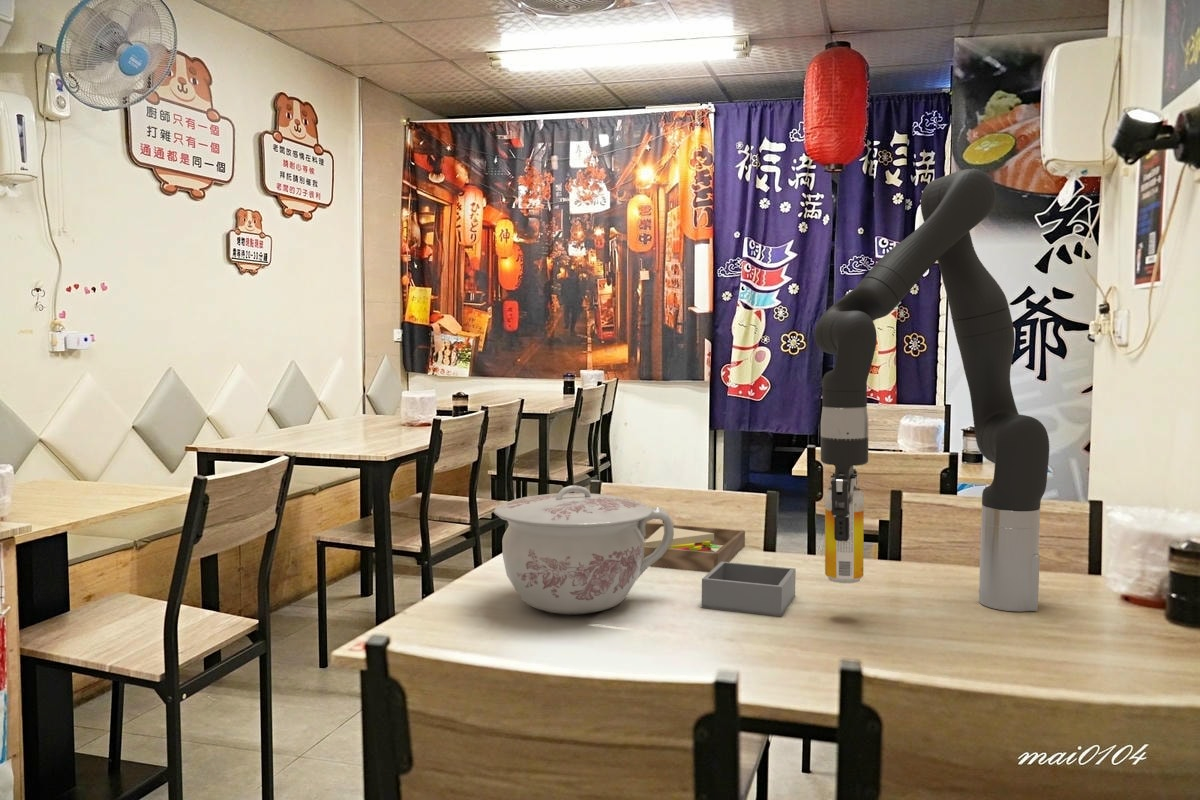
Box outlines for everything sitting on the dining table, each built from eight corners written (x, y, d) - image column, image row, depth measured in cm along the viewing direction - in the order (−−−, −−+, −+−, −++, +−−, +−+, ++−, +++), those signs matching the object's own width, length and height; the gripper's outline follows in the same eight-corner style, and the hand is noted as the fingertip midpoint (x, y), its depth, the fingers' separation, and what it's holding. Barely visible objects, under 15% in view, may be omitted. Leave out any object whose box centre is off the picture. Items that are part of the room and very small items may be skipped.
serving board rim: (744, 548, 204) (745, 530, 203) (717, 573, 181) (718, 553, 181) (641, 539, 212) (641, 522, 212) (603, 562, 190) (603, 543, 190)
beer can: (859, 574, 155) (859, 485, 154) (866, 584, 149) (866, 491, 148) (822, 574, 155) (822, 485, 154) (828, 584, 149) (828, 491, 148)
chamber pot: (461, 613, 154) (460, 490, 153) (546, 576, 179) (546, 470, 177) (610, 639, 141) (611, 504, 140) (680, 595, 166) (681, 481, 164)
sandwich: (607, 557, 196) (607, 534, 196) (671, 545, 209) (672, 523, 209) (657, 571, 184) (658, 546, 184) (723, 557, 197) (723, 534, 197)
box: (795, 596, 166) (795, 568, 165) (781, 616, 153) (781, 587, 153) (720, 588, 171) (721, 561, 170) (701, 607, 158) (701, 578, 158)
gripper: (864, 439, 142) (863, 547, 143) (872, 430, 156) (871, 529, 157) (814, 438, 145) (814, 544, 146) (826, 429, 158) (826, 526, 159)
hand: (844, 535), depth 151 cm, fingers closed on beer can, 6 cm apart
